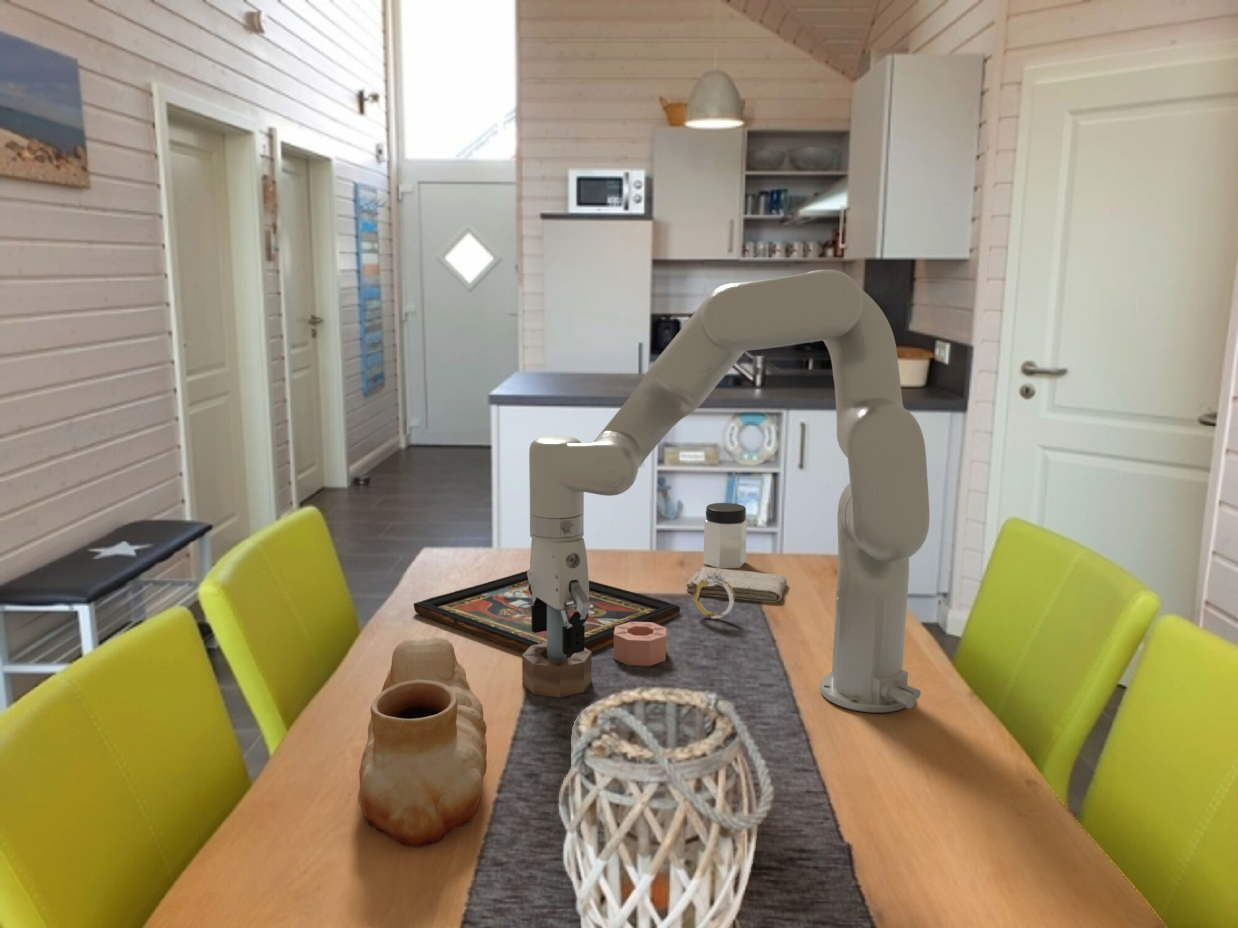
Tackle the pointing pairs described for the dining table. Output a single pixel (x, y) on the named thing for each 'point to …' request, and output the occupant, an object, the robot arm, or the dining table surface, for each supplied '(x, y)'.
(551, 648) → the dowel
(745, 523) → the jar
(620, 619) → the religious icon
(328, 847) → the dining table surface
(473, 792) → the ceramic vessel
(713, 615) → the ring
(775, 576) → the washcloth
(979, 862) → the dining table surface
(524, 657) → the bead
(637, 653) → the pink octagonal nut
